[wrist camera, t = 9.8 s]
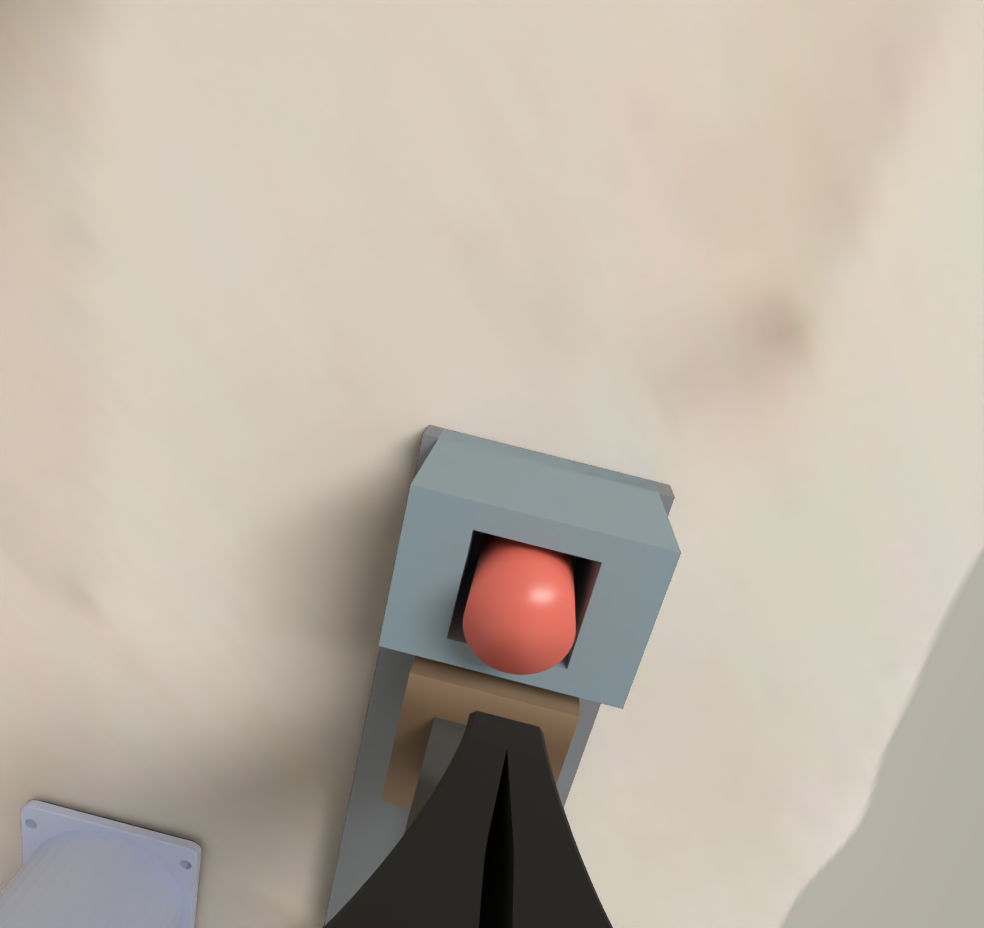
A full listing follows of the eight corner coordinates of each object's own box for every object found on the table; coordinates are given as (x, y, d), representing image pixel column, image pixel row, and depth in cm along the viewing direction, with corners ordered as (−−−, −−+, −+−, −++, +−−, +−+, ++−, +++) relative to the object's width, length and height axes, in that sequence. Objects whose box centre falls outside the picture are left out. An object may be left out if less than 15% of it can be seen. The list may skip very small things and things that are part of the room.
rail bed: (500, 965, 29) (488, 1105, 25) (328, 920, 30) (284, 1050, 25) (669, 485, 21) (700, 557, 16) (429, 425, 21) (391, 479, 17)
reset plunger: (559, 602, 20) (559, 686, 17) (472, 580, 20) (452, 659, 17) (584, 524, 19) (589, 594, 16) (492, 500, 19) (475, 565, 16)
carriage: (539, 778, 23) (528, 1024, 16) (399, 742, 23) (326, 970, 16) (577, 662, 21) (586, 880, 14) (426, 623, 21) (358, 820, 14)
